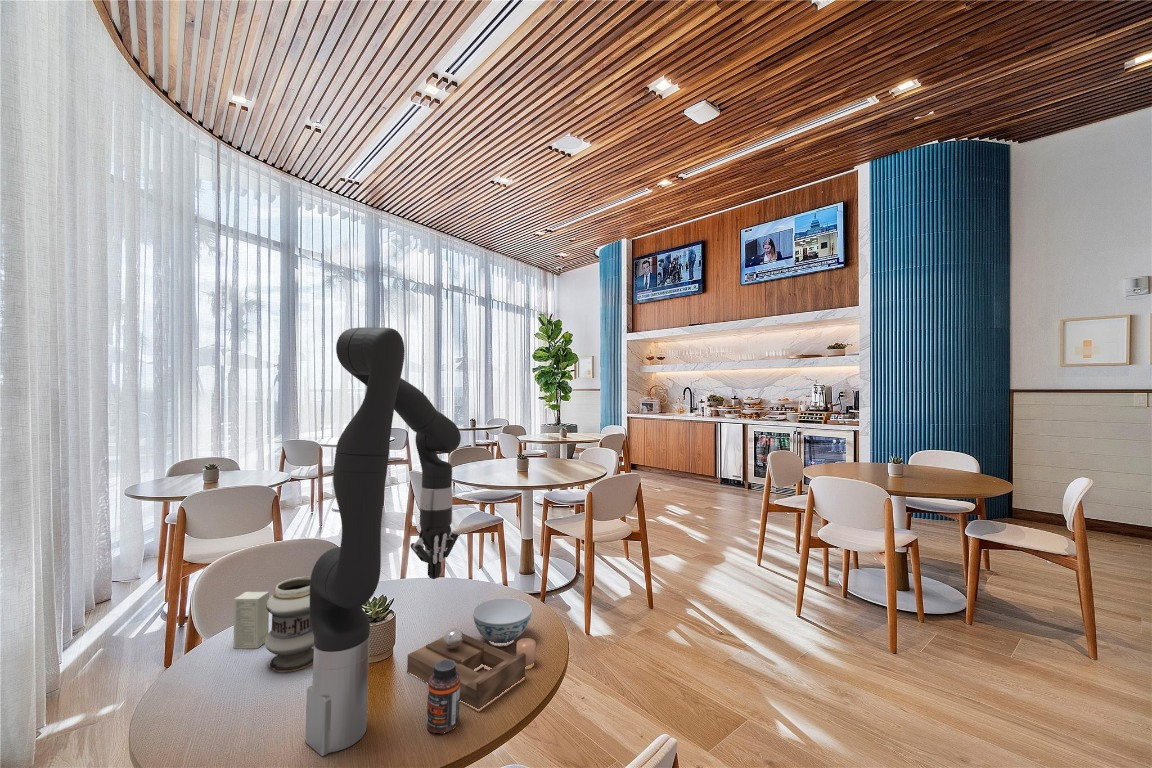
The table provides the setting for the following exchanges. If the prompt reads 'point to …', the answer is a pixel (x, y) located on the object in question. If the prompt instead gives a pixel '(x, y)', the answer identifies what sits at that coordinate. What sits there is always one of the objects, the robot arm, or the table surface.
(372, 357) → the robot arm
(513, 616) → the chinaware
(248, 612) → the skincare box
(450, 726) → the supplement bottle
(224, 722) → the table surface
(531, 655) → the beige rounded cylinder
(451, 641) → the steel ball
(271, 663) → the apothecary jar
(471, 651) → the wooden box
